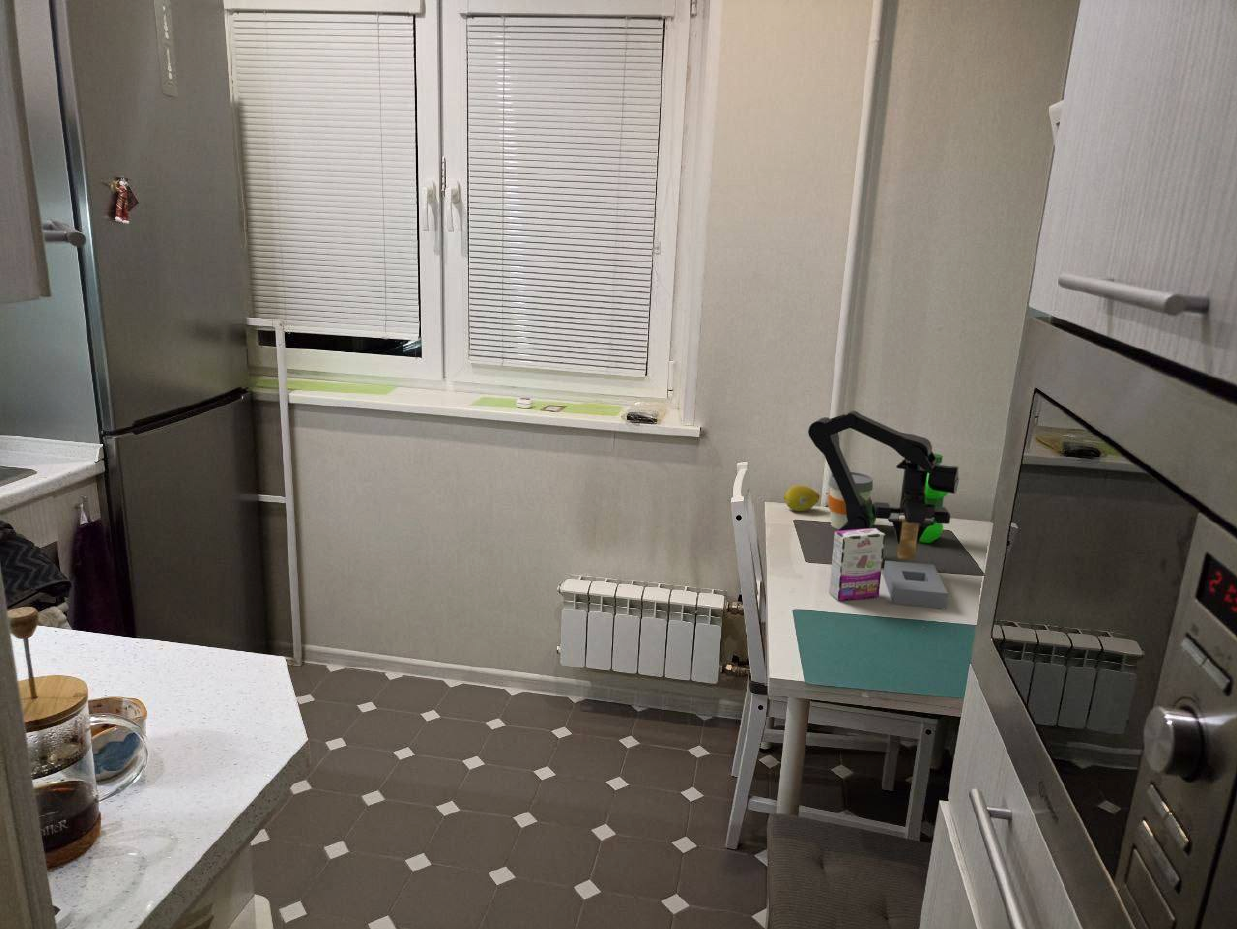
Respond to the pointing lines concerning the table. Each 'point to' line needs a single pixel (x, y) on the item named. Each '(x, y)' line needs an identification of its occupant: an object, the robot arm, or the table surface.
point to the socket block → (915, 584)
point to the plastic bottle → (936, 499)
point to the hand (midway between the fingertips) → (906, 543)
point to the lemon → (801, 498)
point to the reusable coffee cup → (837, 501)
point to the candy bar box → (857, 564)
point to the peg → (907, 540)
